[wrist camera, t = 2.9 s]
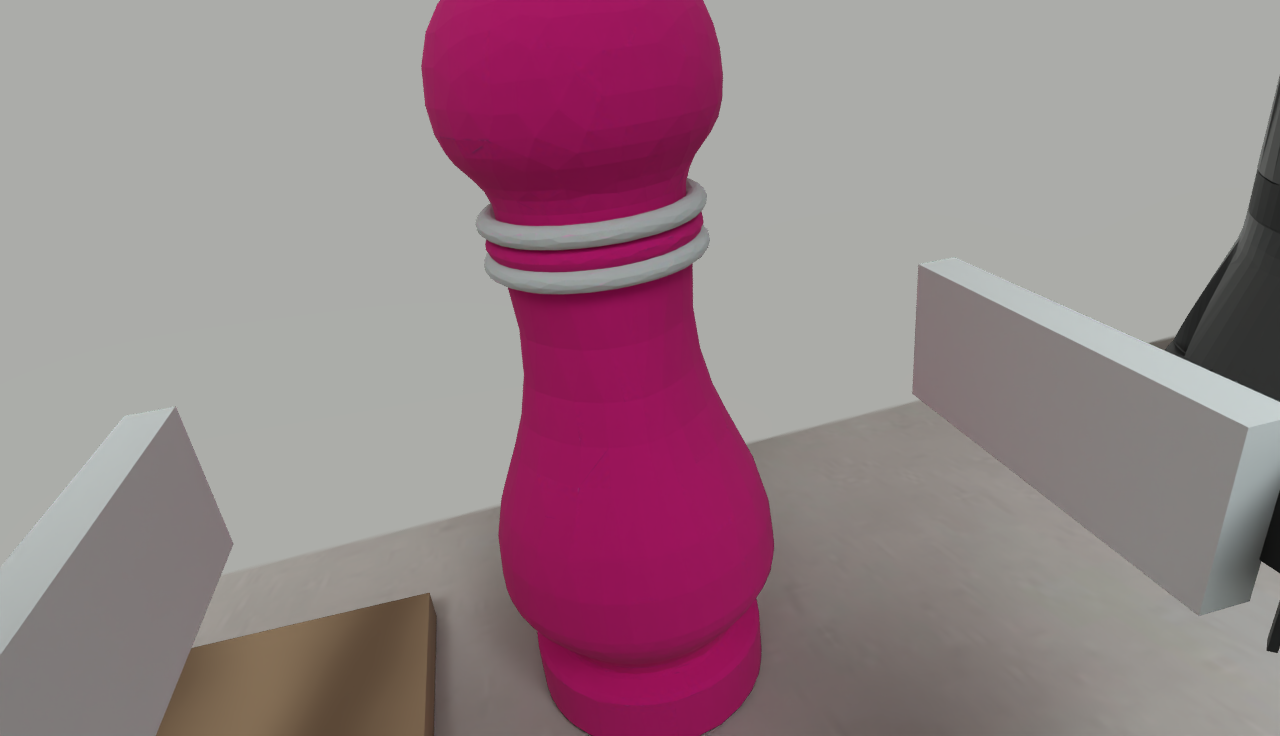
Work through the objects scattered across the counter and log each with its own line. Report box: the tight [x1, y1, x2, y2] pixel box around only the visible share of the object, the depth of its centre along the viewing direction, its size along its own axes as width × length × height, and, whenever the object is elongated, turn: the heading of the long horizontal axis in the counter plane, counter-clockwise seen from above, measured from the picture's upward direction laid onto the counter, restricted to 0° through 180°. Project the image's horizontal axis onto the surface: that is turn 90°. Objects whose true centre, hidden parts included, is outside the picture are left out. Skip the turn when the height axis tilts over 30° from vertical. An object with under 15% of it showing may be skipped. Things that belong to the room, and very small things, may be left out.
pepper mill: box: [421, 0, 774, 736], centre depth 18 cm, size 7×7×20 cm
